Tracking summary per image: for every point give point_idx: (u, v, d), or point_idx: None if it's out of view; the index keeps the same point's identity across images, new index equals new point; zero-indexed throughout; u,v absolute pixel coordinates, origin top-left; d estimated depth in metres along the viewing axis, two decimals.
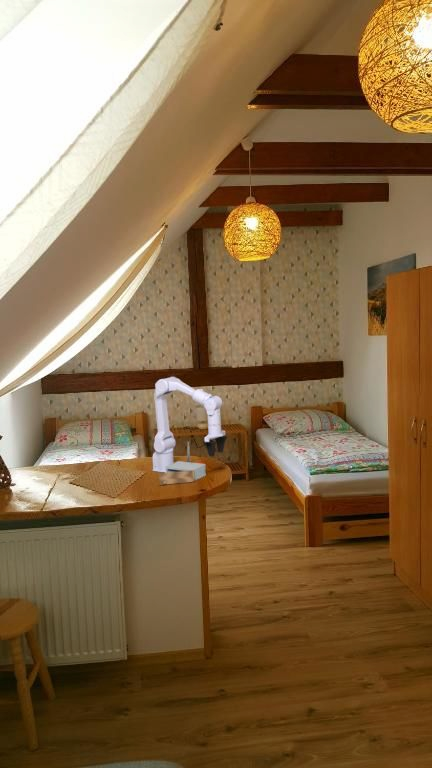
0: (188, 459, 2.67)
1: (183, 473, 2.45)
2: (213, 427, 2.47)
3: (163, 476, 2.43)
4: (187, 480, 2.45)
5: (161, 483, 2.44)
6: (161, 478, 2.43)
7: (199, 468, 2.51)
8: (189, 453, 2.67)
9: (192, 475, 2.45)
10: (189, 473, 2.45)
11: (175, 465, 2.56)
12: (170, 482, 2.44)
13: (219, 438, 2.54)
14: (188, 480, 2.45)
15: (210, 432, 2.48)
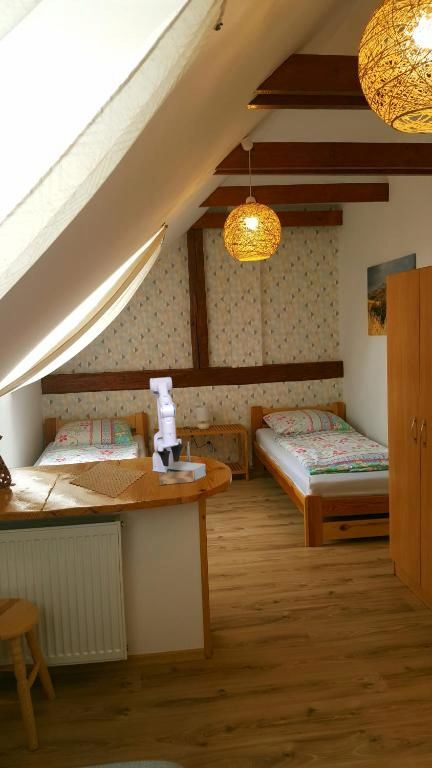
0: (188, 459, 2.67)
1: (183, 473, 2.45)
2: (167, 436, 2.37)
3: (163, 476, 2.43)
4: (187, 480, 2.45)
5: (161, 483, 2.44)
6: (161, 478, 2.43)
7: (199, 468, 2.51)
8: (189, 453, 2.67)
9: (192, 475, 2.45)
10: (189, 473, 2.45)
11: (175, 465, 2.56)
12: (170, 482, 2.44)
13: (175, 447, 2.44)
14: (188, 480, 2.45)
15: (164, 441, 2.38)
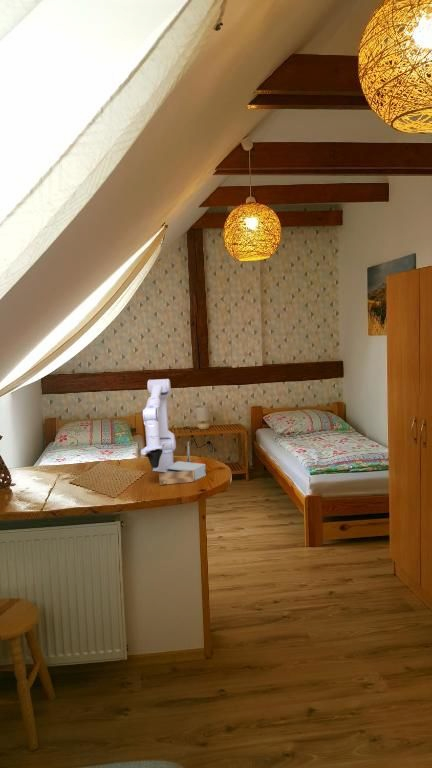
0: (188, 459, 2.67)
1: (183, 473, 2.45)
2: (151, 439, 2.34)
3: (163, 476, 2.43)
4: (187, 480, 2.45)
5: (161, 483, 2.44)
6: (161, 478, 2.43)
7: (199, 468, 2.51)
8: (189, 453, 2.67)
9: (192, 475, 2.45)
10: (189, 473, 2.45)
11: (175, 465, 2.56)
12: (170, 482, 2.44)
13: None
14: (188, 480, 2.45)
15: (148, 444, 2.35)
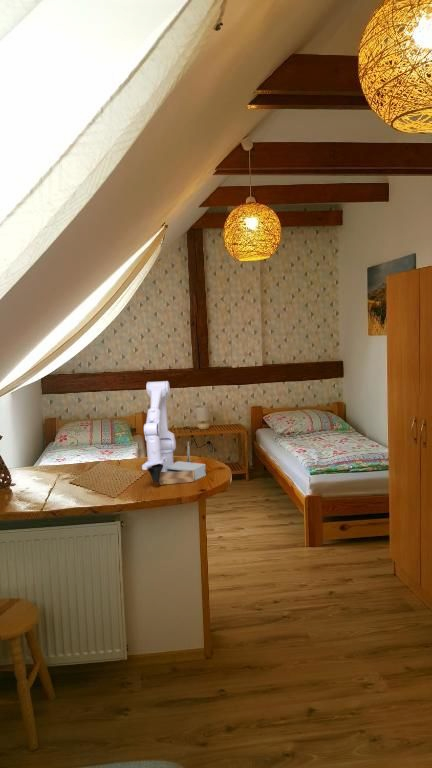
0: (188, 459, 2.67)
1: (183, 473, 2.45)
2: (152, 454, 2.35)
3: (163, 476, 2.43)
4: (187, 480, 2.45)
5: (161, 483, 2.44)
6: (161, 478, 2.43)
7: (199, 468, 2.51)
8: (189, 453, 2.67)
9: (192, 475, 2.45)
10: (189, 473, 2.45)
11: (175, 465, 2.56)
12: (170, 482, 2.44)
13: None
14: (188, 480, 2.45)
15: (149, 459, 2.36)
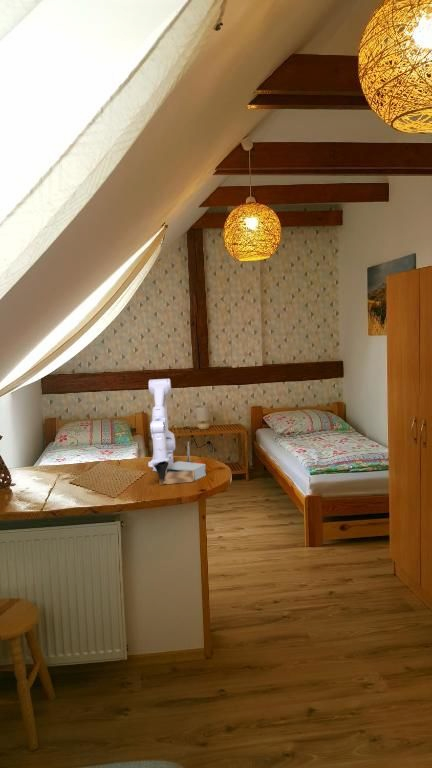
0: (188, 459, 2.67)
1: (183, 473, 2.45)
2: (158, 451, 2.38)
3: None
4: (187, 480, 2.45)
5: (161, 483, 2.44)
6: None
7: (199, 468, 2.51)
8: (189, 453, 2.67)
9: (192, 475, 2.45)
10: (189, 473, 2.45)
11: (175, 465, 2.56)
12: (170, 482, 2.45)
13: None
14: (188, 480, 2.45)
15: (155, 456, 2.39)
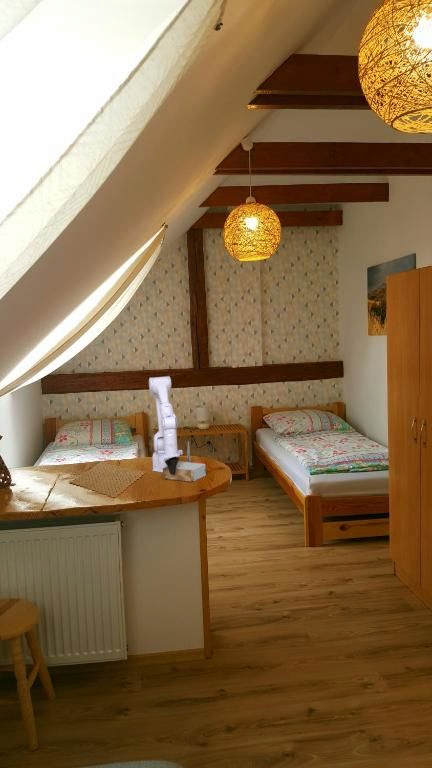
0: (188, 459, 2.67)
1: (182, 471, 2.47)
2: (169, 447, 2.45)
3: (166, 471, 2.52)
4: (186, 479, 2.47)
5: (164, 477, 2.52)
6: (164, 472, 2.52)
7: (199, 468, 2.51)
8: (189, 453, 2.67)
9: (190, 475, 2.46)
10: (188, 472, 2.46)
11: None
12: (172, 478, 2.51)
13: None
14: (187, 479, 2.47)
15: (166, 452, 2.46)
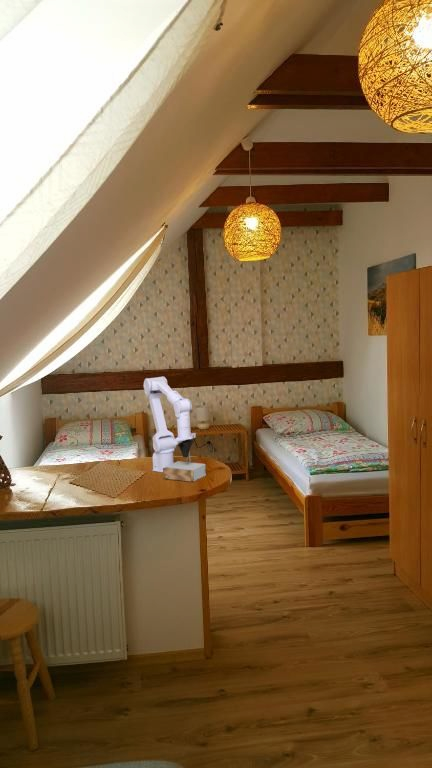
0: (188, 459, 2.67)
1: (182, 471, 2.47)
2: (182, 430, 2.46)
3: (166, 471, 2.52)
4: (186, 479, 2.47)
5: (164, 477, 2.53)
6: (164, 472, 2.52)
7: (199, 468, 2.51)
8: (189, 453, 2.67)
9: (190, 475, 2.46)
10: (188, 472, 2.46)
11: (175, 465, 2.56)
12: (172, 478, 2.51)
13: None
14: (187, 479, 2.47)
15: (179, 435, 2.47)
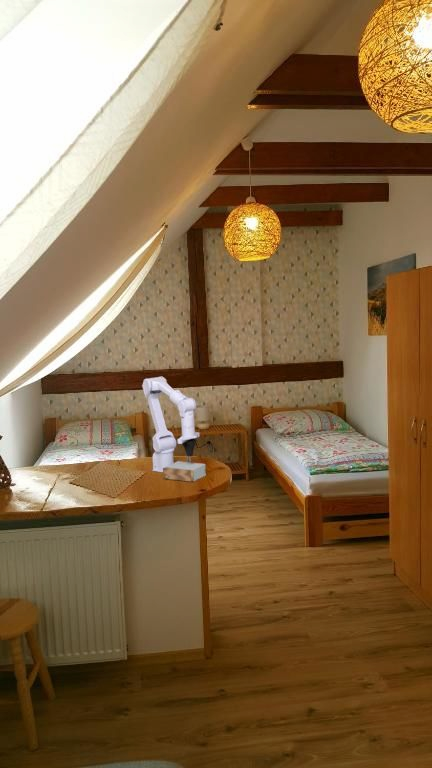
0: (188, 459, 2.67)
1: (182, 471, 2.47)
2: (186, 429, 2.47)
3: (166, 471, 2.52)
4: (186, 479, 2.47)
5: (164, 477, 2.53)
6: (164, 472, 2.52)
7: (199, 468, 2.51)
8: None
9: (190, 475, 2.46)
10: (188, 472, 2.46)
11: (175, 465, 2.56)
12: (172, 478, 2.51)
13: None
14: (187, 479, 2.47)
15: (183, 434, 2.48)
